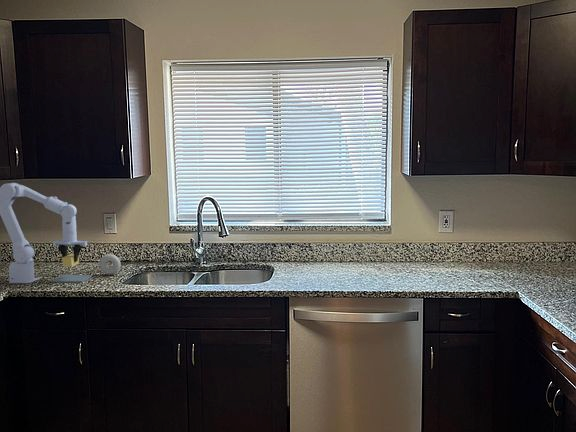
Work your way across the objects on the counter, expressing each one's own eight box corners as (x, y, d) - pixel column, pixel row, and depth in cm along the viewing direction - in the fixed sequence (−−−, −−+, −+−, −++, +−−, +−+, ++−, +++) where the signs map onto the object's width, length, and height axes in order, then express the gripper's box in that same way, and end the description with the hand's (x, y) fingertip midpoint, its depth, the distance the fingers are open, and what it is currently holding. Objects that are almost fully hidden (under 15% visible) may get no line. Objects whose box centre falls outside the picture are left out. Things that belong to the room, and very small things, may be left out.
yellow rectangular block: (70, 262, 235) (69, 254, 235) (78, 262, 235) (78, 254, 235) (62, 266, 227) (62, 257, 227) (71, 266, 227) (71, 257, 227)
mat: (50, 282, 226) (50, 280, 226) (62, 276, 238) (62, 274, 238) (82, 282, 226) (82, 281, 226) (92, 276, 238) (92, 275, 238)
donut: (98, 275, 240) (97, 254, 239) (100, 274, 244) (100, 253, 243) (119, 275, 241) (119, 254, 240) (122, 274, 244) (121, 253, 243)
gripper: (49, 232, 226) (50, 263, 227) (82, 233, 226) (83, 263, 227) (56, 230, 233) (57, 260, 234) (88, 230, 233) (89, 260, 234)
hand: (70, 261), depth 231 cm, fingers closed on yellow rectangular block, 4 cm apart
